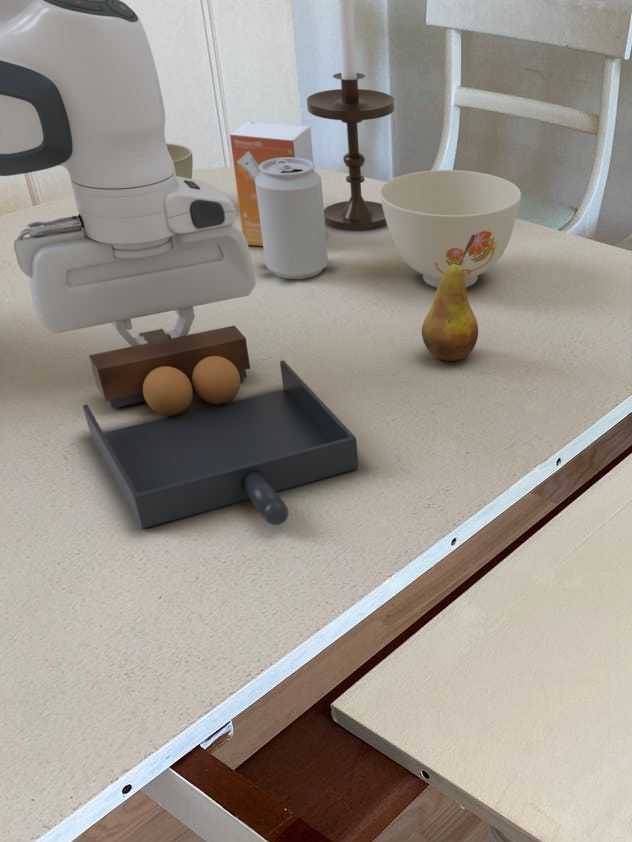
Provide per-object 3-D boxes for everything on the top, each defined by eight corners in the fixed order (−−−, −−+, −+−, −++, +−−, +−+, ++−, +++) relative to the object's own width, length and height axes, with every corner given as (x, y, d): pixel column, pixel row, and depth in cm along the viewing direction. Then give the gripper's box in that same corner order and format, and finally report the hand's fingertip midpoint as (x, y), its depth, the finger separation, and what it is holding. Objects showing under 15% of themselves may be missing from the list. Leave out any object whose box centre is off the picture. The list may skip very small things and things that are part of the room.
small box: (243, 246, 123) (227, 133, 114) (261, 228, 127) (248, 119, 119) (304, 252, 122) (293, 139, 113) (320, 234, 126) (311, 124, 118)
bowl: (380, 306, 110) (376, 214, 103) (385, 253, 122) (382, 168, 115) (521, 307, 111) (525, 216, 104) (512, 255, 123) (516, 170, 116)
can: (284, 286, 114) (271, 177, 106) (255, 266, 118) (241, 160, 110) (340, 273, 117) (332, 166, 109) (310, 253, 121) (300, 150, 113)
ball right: (184, 353, 89) (183, 383, 93) (206, 390, 88) (204, 419, 92) (228, 340, 91) (225, 370, 95) (250, 376, 90) (247, 405, 94)
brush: (108, 411, 90) (97, 369, 87) (86, 374, 96) (75, 333, 93) (251, 378, 96) (245, 337, 93) (223, 344, 101) (216, 305, 98)
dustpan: (91, 437, 87) (82, 405, 85) (287, 390, 95) (283, 360, 93) (165, 571, 73) (157, 537, 71) (389, 504, 81) (387, 471, 78)
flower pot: (206, 197, 136) (197, 142, 131) (195, 222, 129) (185, 164, 124) (133, 197, 136) (122, 141, 131) (118, 222, 128) (105, 164, 123)
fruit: (426, 343, 103) (424, 227, 95) (480, 347, 103) (483, 230, 95) (418, 367, 99) (415, 248, 91) (474, 371, 99) (476, 251, 91)
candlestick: (372, 200, 137) (357, -114, 113) (412, 223, 130) (405, -104, 107) (303, 213, 132) (272, -111, 109) (341, 238, 125) (316, -101, 102)
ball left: (133, 363, 87) (135, 394, 91) (154, 401, 86) (155, 430, 90) (180, 351, 89) (180, 381, 93) (201, 387, 88) (200, 417, 92)
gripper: (15, 238, 80) (60, 391, 90) (250, 201, 88) (269, 345, 97) (0, 215, 84) (44, 364, 94) (227, 181, 92) (247, 322, 101)
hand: (161, 354), depth 96 cm, fingers closed on brush, 2 cm apart
